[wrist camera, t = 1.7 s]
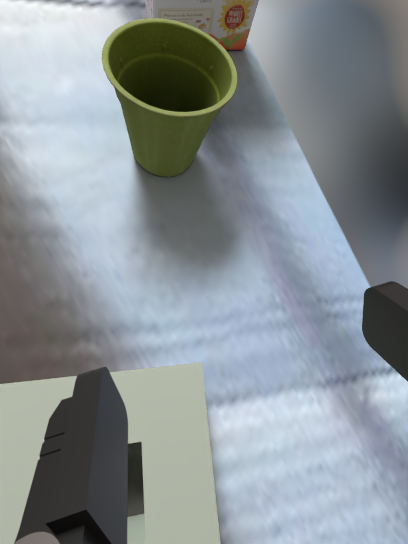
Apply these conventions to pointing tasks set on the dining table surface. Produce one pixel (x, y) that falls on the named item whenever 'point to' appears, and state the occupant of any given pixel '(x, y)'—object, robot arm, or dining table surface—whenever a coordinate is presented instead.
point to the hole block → (141, 428)
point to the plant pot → (167, 89)
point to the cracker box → (210, 17)
